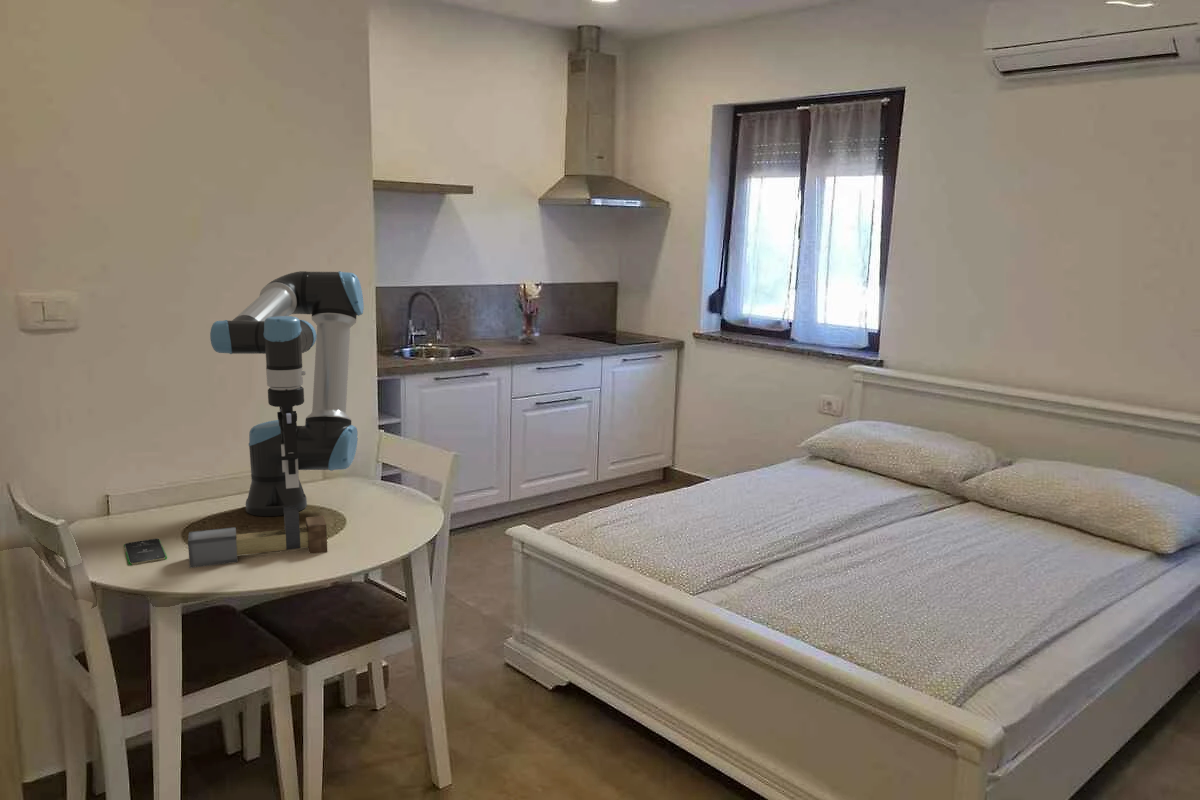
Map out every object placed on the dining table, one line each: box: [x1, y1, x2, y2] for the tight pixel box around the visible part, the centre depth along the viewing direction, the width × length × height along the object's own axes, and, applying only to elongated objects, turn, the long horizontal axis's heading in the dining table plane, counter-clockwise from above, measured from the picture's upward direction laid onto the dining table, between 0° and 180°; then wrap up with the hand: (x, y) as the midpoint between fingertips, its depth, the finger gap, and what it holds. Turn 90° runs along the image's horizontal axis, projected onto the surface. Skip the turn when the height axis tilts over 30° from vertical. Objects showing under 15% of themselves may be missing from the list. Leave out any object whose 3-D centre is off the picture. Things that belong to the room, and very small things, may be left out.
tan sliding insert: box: [236, 505, 309, 556], centre depth 194 cm, size 18×4×9 cm, turn 113°
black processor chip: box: [123, 538, 168, 566], centre depth 194 cm, size 8×1×15 cm
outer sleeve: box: [187, 527, 238, 569], centre depth 190 cm, size 10×6×6 cm
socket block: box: [305, 515, 328, 555], centre depth 198 cm, size 4×7×6 cm, turn 23°
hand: (290, 479), depth 194 cm, fingers open, 13 cm apart
